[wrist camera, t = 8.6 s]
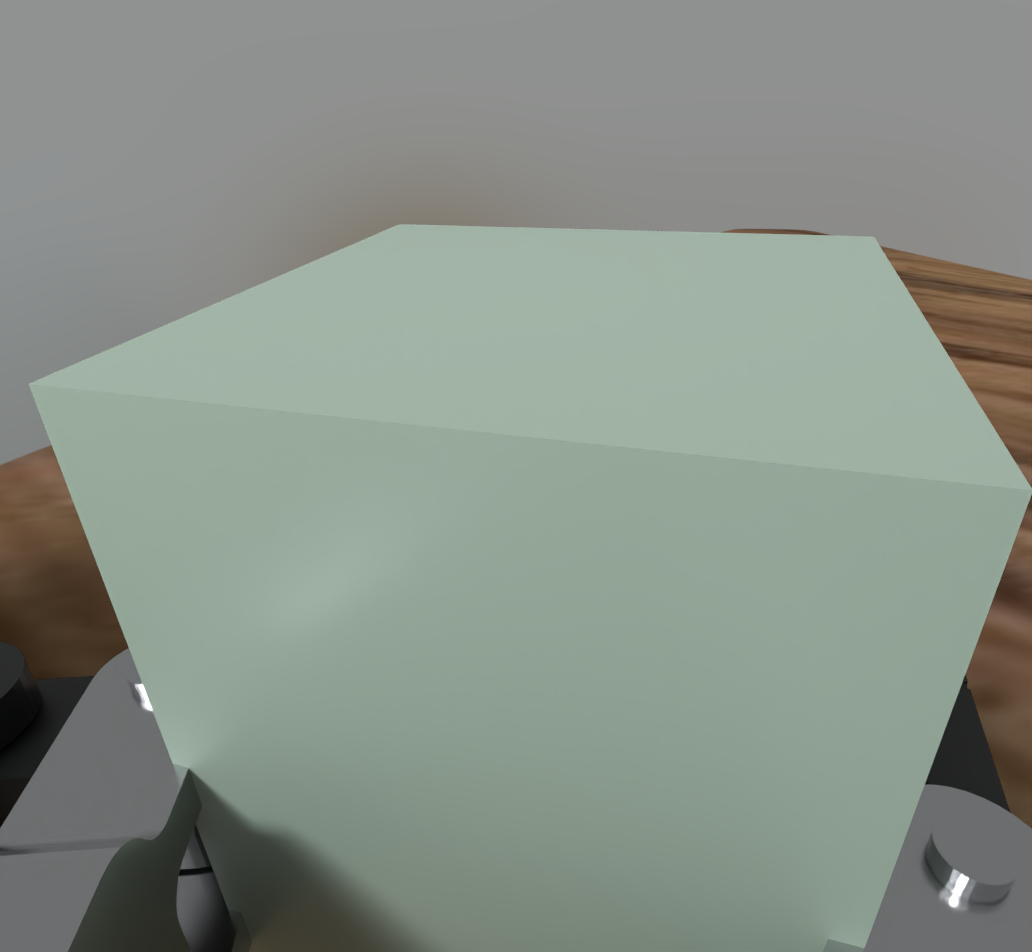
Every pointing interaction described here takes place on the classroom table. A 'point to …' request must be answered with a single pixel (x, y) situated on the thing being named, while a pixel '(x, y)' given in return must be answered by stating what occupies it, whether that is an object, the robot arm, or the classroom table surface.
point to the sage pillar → (548, 583)
